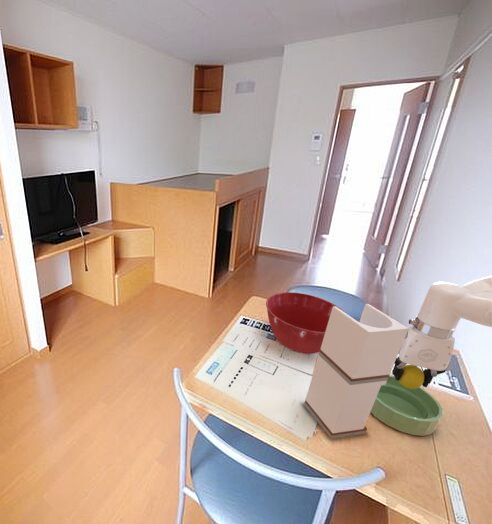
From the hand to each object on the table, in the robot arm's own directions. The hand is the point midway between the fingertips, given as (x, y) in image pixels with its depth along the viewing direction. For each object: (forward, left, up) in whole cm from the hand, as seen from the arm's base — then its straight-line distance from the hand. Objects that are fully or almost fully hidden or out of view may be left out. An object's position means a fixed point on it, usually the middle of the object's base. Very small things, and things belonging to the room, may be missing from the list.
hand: (409, 379), depth 87 cm
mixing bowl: (+26, -24, -12) cm, 37 cm away
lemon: (0, 0, -3) cm, 3 cm away
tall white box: (+18, +11, -12) cm, 24 cm away
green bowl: (0, 0, -12) cm, 12 cm away
